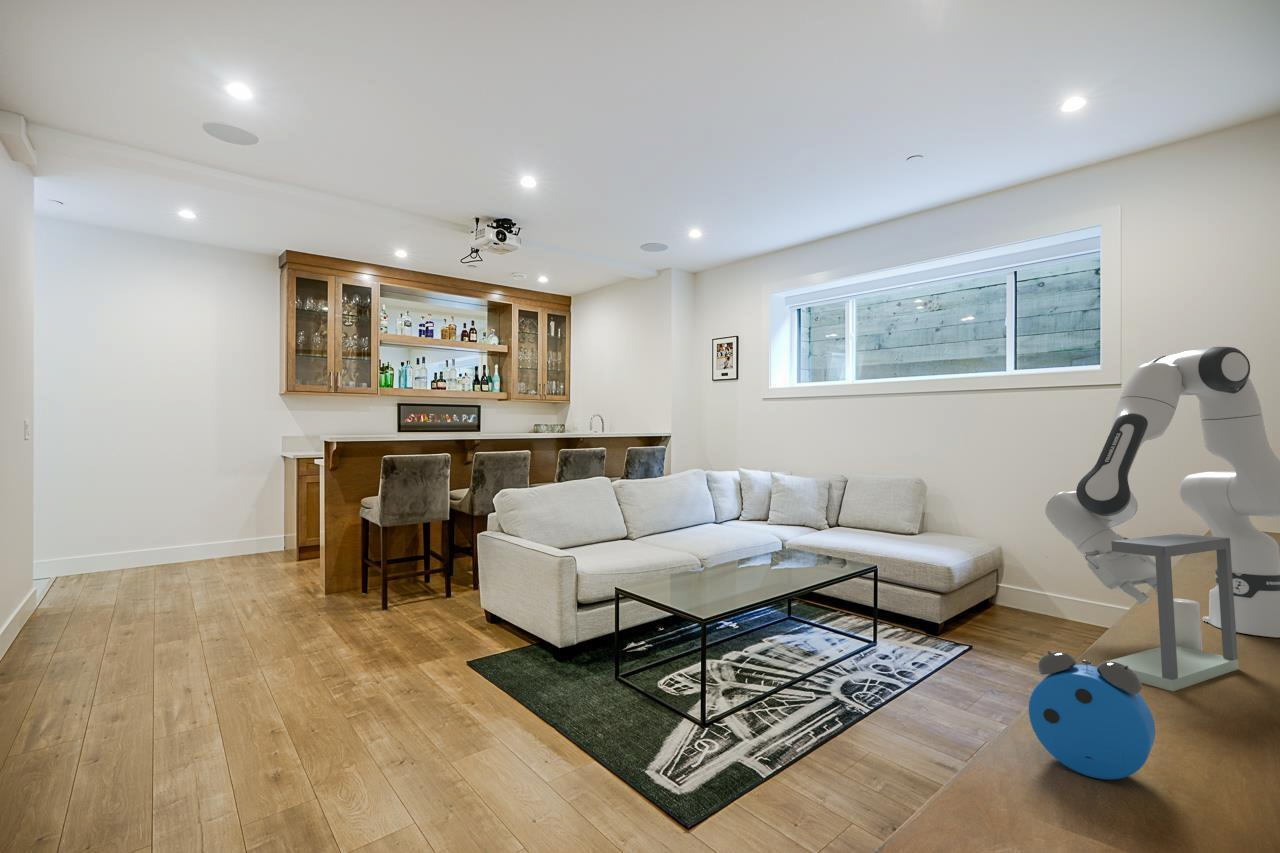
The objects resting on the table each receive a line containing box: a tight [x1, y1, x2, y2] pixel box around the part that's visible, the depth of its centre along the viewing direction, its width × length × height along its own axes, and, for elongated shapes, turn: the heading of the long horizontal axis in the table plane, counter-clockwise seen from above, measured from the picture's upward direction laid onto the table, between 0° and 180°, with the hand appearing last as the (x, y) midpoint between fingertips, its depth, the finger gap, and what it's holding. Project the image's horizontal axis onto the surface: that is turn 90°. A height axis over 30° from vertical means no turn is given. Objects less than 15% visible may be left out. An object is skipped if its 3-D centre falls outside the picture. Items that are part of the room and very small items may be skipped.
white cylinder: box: [1173, 597, 1203, 651], centre depth 130 cm, size 6×6×11 cm
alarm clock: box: [1028, 650, 1156, 780], centre depth 81 cm, size 13×6×15 cm, turn 44°
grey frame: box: [1108, 533, 1239, 692], centre depth 119 cm, size 26×11×26 cm, turn 116°
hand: (1156, 599), depth 134 cm, fingers open, 8 cm apart
